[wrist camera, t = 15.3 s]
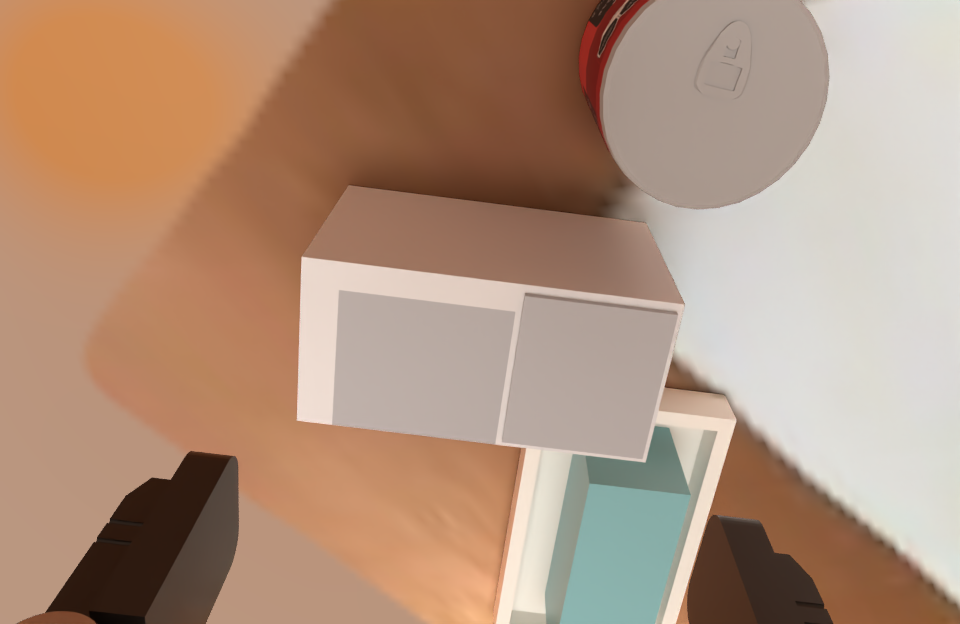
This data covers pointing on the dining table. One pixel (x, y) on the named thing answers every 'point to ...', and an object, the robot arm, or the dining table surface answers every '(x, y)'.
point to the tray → (540, 493)
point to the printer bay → (486, 324)
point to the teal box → (617, 537)
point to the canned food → (704, 93)
